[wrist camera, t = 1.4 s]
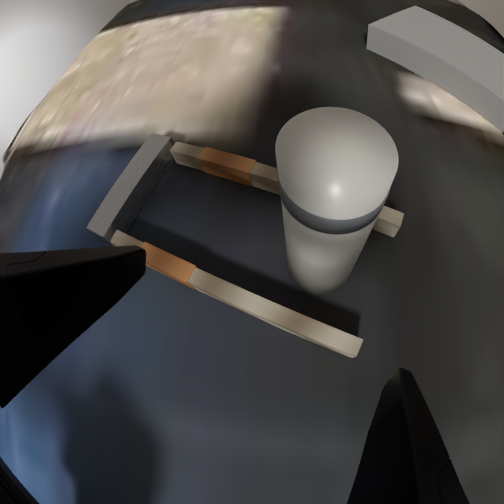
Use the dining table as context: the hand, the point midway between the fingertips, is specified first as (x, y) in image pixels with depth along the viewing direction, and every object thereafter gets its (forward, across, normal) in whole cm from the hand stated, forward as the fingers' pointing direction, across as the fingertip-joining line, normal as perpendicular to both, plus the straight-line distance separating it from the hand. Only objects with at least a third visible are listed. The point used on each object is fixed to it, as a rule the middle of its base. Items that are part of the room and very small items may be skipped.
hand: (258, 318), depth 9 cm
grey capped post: (+14, 0, +4) cm, 15 cm away
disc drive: (+41, -9, -21) cm, 47 cm away
